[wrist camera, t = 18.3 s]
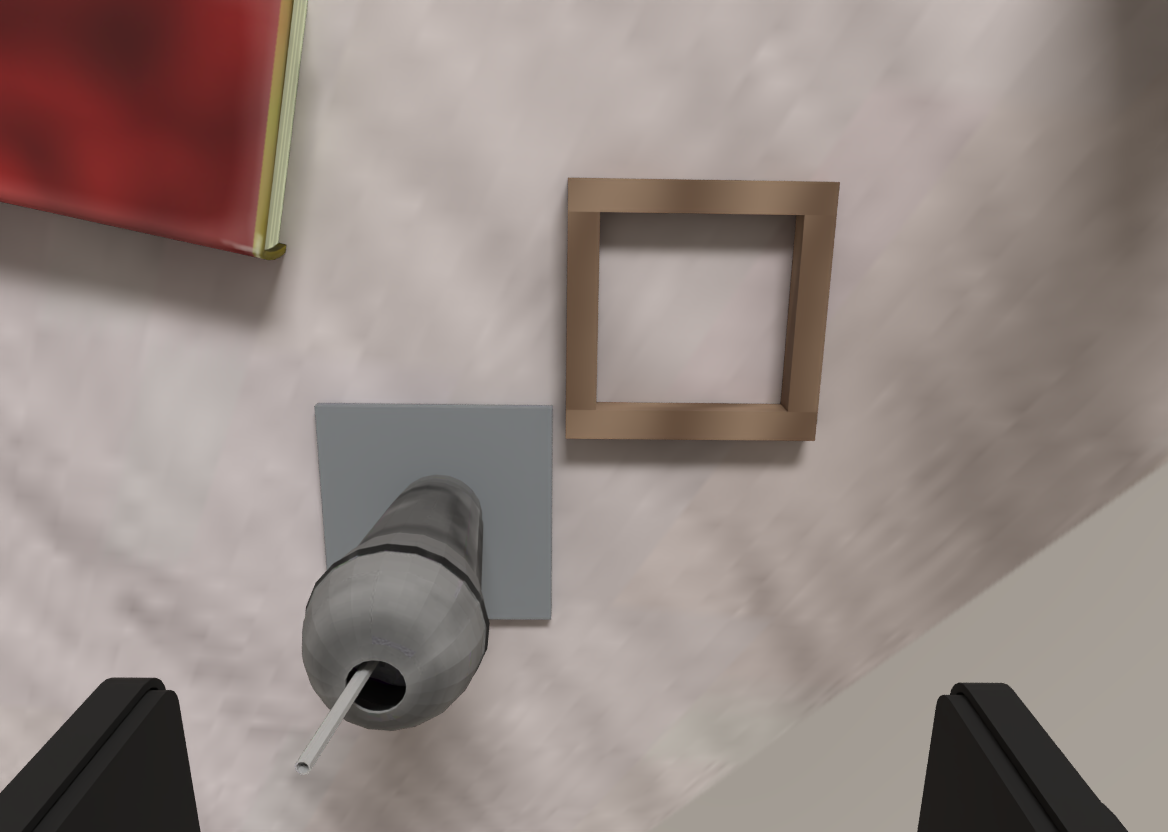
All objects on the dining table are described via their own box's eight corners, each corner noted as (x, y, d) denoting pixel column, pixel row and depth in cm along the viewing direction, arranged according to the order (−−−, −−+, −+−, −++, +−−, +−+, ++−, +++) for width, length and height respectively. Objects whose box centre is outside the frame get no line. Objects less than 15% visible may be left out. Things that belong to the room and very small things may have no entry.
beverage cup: (490, 591, 46) (435, 895, 26) (357, 560, 45) (201, 849, 26) (523, 468, 44) (490, 701, 25) (385, 434, 43) (238, 645, 24)
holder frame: (830, 181, 41) (839, 182, 39) (806, 431, 44) (814, 440, 43) (568, 177, 40) (568, 177, 39) (565, 429, 44) (565, 438, 42)
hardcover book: (287, 255, 42) (257, 264, 38) (-158, 157, 40) (-239, 156, 36) (320, -6, 38) (291, -27, 34) (-162, -124, 37) (-253, -160, 33)
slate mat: (552, 405, 43) (552, 408, 43) (551, 613, 47) (551, 619, 46) (317, 403, 43) (314, 406, 43) (333, 612, 47) (330, 618, 46)
